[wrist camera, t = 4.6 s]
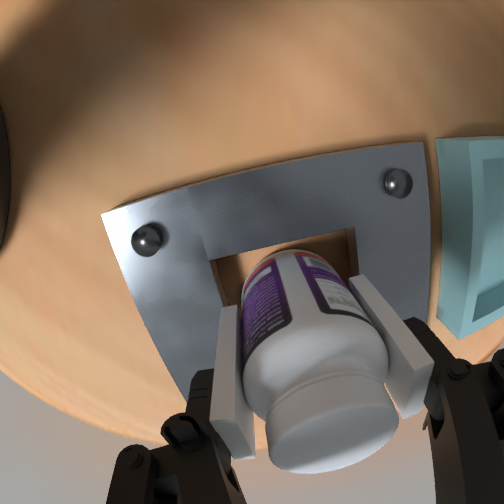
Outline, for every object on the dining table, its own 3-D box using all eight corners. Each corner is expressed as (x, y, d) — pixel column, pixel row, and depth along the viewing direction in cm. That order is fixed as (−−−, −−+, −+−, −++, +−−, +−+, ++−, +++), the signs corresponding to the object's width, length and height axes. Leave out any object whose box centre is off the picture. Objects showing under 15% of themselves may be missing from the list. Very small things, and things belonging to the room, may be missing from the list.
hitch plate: (195, 398, 19) (192, 418, 17) (113, 207, 14) (96, 217, 12) (411, 346, 18) (423, 363, 16) (407, 141, 13) (428, 142, 11)
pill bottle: (256, 342, 17) (267, 492, 8) (228, 262, 15) (213, 419, 6) (343, 318, 16) (409, 451, 7) (329, 234, 15) (432, 355, 6)
